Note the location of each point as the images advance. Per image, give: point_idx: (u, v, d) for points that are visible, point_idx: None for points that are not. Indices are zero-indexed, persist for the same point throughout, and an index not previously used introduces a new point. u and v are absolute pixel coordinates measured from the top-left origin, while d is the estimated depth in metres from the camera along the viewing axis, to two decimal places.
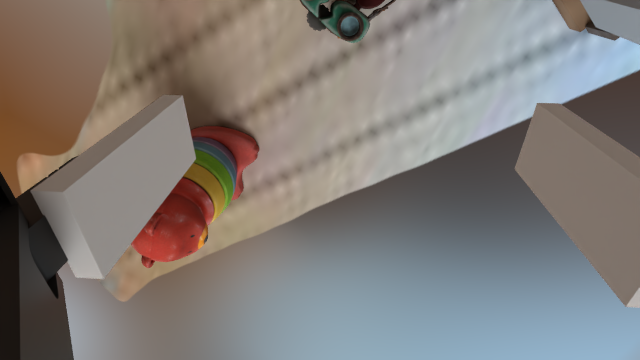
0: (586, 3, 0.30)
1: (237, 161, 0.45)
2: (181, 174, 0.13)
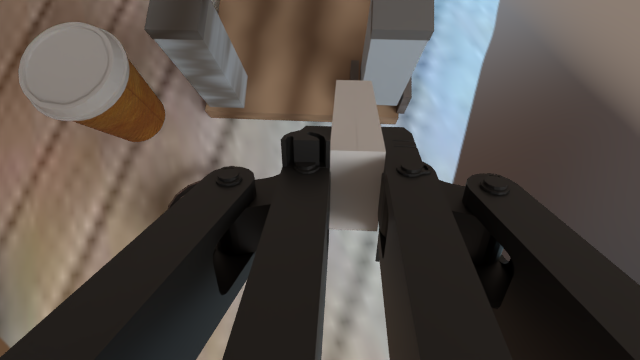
0: None
1: None
2: None
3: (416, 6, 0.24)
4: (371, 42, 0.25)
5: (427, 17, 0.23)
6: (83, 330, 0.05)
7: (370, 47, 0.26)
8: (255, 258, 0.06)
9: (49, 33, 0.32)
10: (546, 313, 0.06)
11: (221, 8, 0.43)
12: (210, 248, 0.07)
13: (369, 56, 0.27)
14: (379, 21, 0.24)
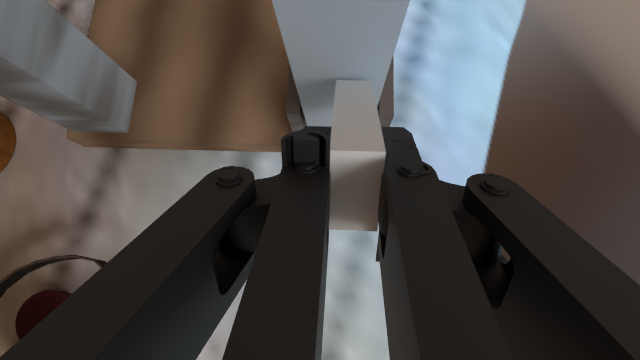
0: (323, 122, 0.21)
1: None
2: None
3: None
4: None
5: None
6: (83, 330, 0.05)
7: (277, 10, 0.11)
8: (255, 258, 0.06)
9: None
10: (546, 313, 0.06)
11: None
12: (210, 248, 0.07)
13: (285, 35, 0.12)
14: None
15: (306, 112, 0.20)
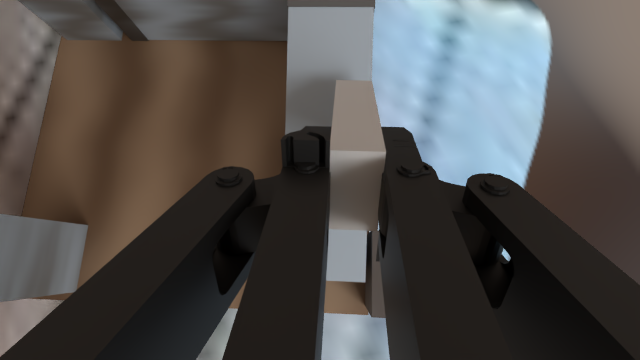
0: None
1: None
2: None
3: None
4: (289, 18, 0.17)
5: None
6: (83, 330, 0.05)
7: (289, 33, 0.17)
8: (255, 258, 0.06)
9: None
10: (546, 313, 0.06)
11: (53, 91, 0.24)
12: (210, 248, 0.07)
13: (289, 61, 0.17)
14: None
15: None
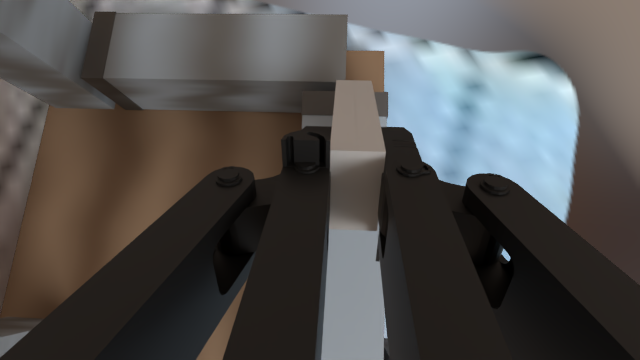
0: None
1: None
2: None
3: None
4: (303, 125, 0.17)
5: None
6: (83, 330, 0.05)
7: None
8: (255, 258, 0.06)
9: None
10: (546, 313, 0.06)
11: (40, 166, 0.22)
12: (210, 247, 0.07)
13: None
14: None
15: None
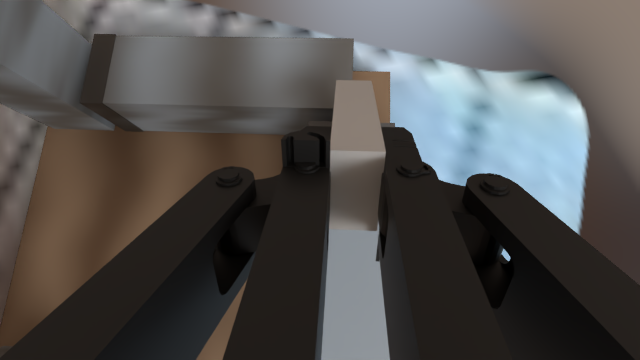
0: None
1: None
2: None
3: None
4: None
5: None
6: (83, 329, 0.05)
7: None
8: (255, 258, 0.06)
9: None
10: (546, 313, 0.06)
11: (38, 188, 0.22)
12: (210, 248, 0.07)
13: None
14: None
15: None
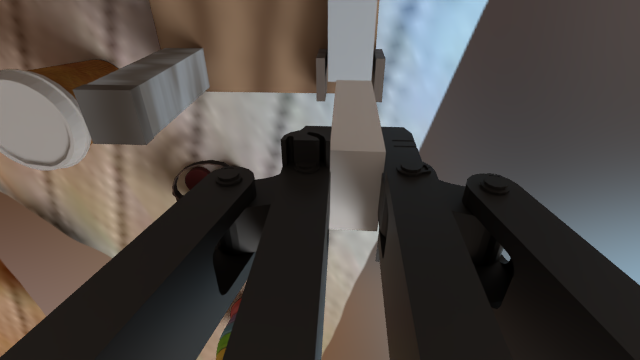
0: (339, 71, 0.32)
1: None
2: None
3: None
4: None
5: None
6: (83, 329, 0.05)
7: None
8: (255, 258, 0.06)
9: None
10: (546, 313, 0.06)
11: None
12: (210, 248, 0.07)
13: None
14: None
15: (329, 52, 0.31)
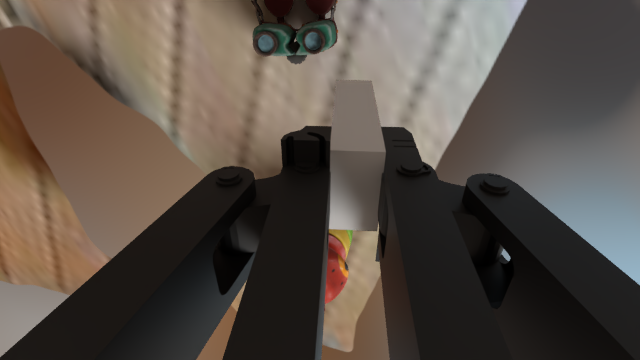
0: None
1: None
2: None
3: None
4: None
5: None
6: (83, 330, 0.05)
7: None
8: (255, 258, 0.06)
9: None
10: (546, 313, 0.06)
11: None
12: (210, 248, 0.07)
13: None
14: None
15: None
